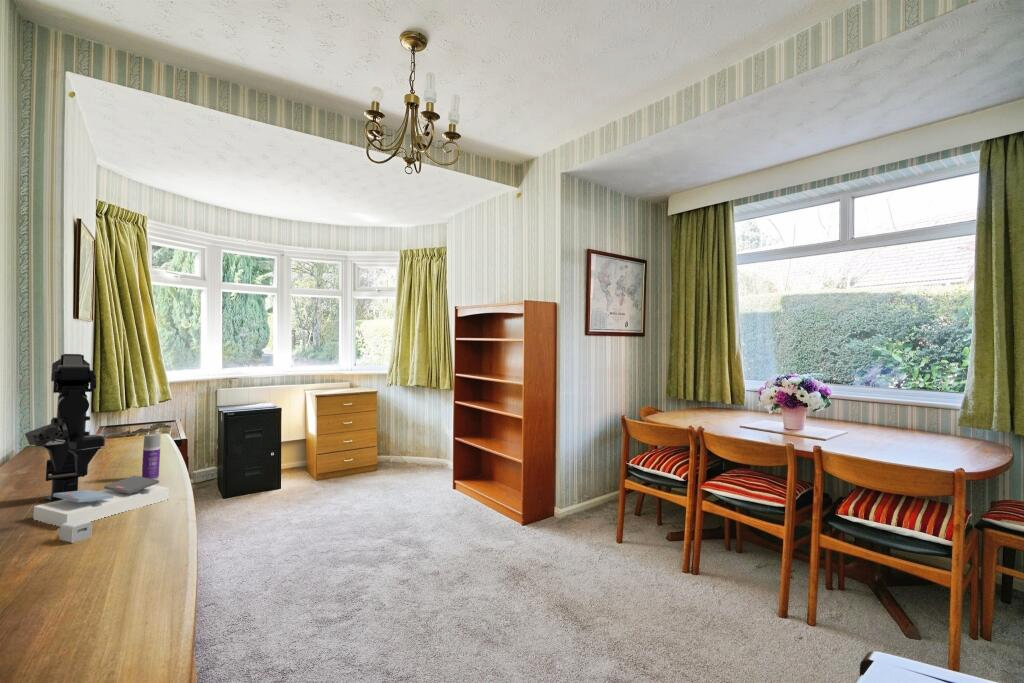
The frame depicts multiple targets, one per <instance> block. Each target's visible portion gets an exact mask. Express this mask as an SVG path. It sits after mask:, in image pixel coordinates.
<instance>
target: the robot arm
mask: <svg viewBox="0 0 1024 683" xmlns="http://www.w3.org/2000/svg"><path fill="white" fill-rule="evenodd" d="M50 380H51V382H53V391H52V392H53V394H59V395H58V396H57V408H56V417H52V418H51V420H50V424H47V425H44V426H39V427H38V428H35V429H33V430H30V431H27V432H26V433H24V436H25V438H26V439H27V442H28V444H29V446H35V447H39V448H42V449H44V450H45V451H47V452H48V454H49V459H47V460H46V468H45V469H46V471H45V482H49V481H51V489H50V492H51V493H50V496H46V497H44V500H45V501H49V502H55V501H59V500H63V499H62V498H57V497H53V493H61V492H71V491H79V478H83V477H85V476H87V475H88V473H89V472H88V471H89V470H88V469H89V465H90V462H91V461H92V459H93V458H94V457H95V455H96V454H97V452H98V451H99V450H101V449H102V447H105V446H106V438H105V437H103V436H102V435H99V434H90V431H87V430H86V426H87V421H91V416H89V415H87V412H88V411H89V409H90V402H89V400H88V395H87V393H93V392H94V390H95V389H97V374H96V373H95V370H93V369H91V364H90V363H89V362H88V361H86V360H85V355H84V354H80V353H63V354H61V355H60V358H59V359H58V360H56V361H54V362H53V363H52V364H51V376H50Z"/></svg>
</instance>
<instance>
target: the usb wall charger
mask: <svg viewBox="0 0 1024 683" xmlns="http://www.w3.org/2000/svg"><path fill="white" fill-rule="evenodd" d="M56 531H57V532H59V541H61V540H62V542H67V543H70V542H71V544H75V543H74V542H77V541H80V542H82V541H81V540H83V541H85V540H84V539H86V540H88V539H87V538H89V539H90V538H92V533H93V522H87V521H82V520H74V521H70V522H67V523H64V524H62V525H61V526H60V527H59V528H57V530H56ZM77 543H78V542H77Z"/></svg>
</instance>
